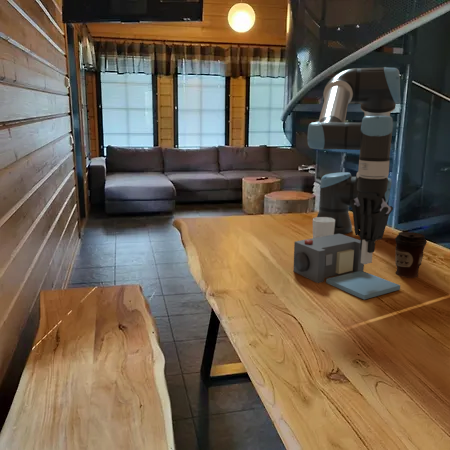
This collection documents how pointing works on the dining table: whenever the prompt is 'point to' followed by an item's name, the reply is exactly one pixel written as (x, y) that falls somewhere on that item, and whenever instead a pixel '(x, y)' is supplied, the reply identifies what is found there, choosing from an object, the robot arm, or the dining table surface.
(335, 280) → the side door
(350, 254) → the grey notched block
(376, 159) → the robot arm
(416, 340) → the dining table surface
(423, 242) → the coffee cup
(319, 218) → the white cup
